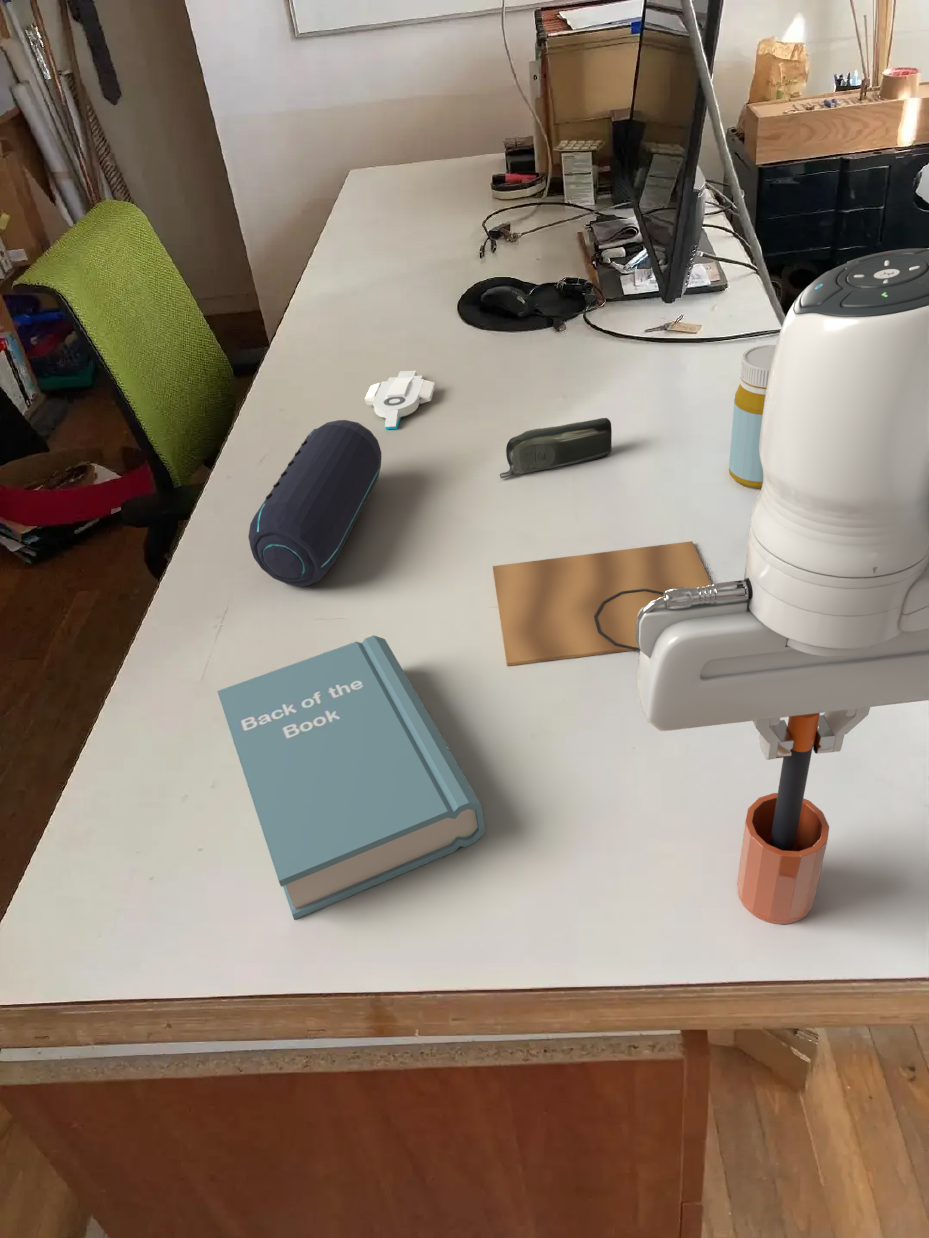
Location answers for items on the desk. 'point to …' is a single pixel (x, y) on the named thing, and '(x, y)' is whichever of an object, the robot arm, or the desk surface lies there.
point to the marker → (793, 781)
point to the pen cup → (780, 863)
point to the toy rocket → (399, 396)
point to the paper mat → (587, 599)
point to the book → (347, 773)
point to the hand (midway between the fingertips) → (799, 748)
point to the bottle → (750, 416)
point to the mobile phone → (558, 446)
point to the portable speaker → (315, 503)
